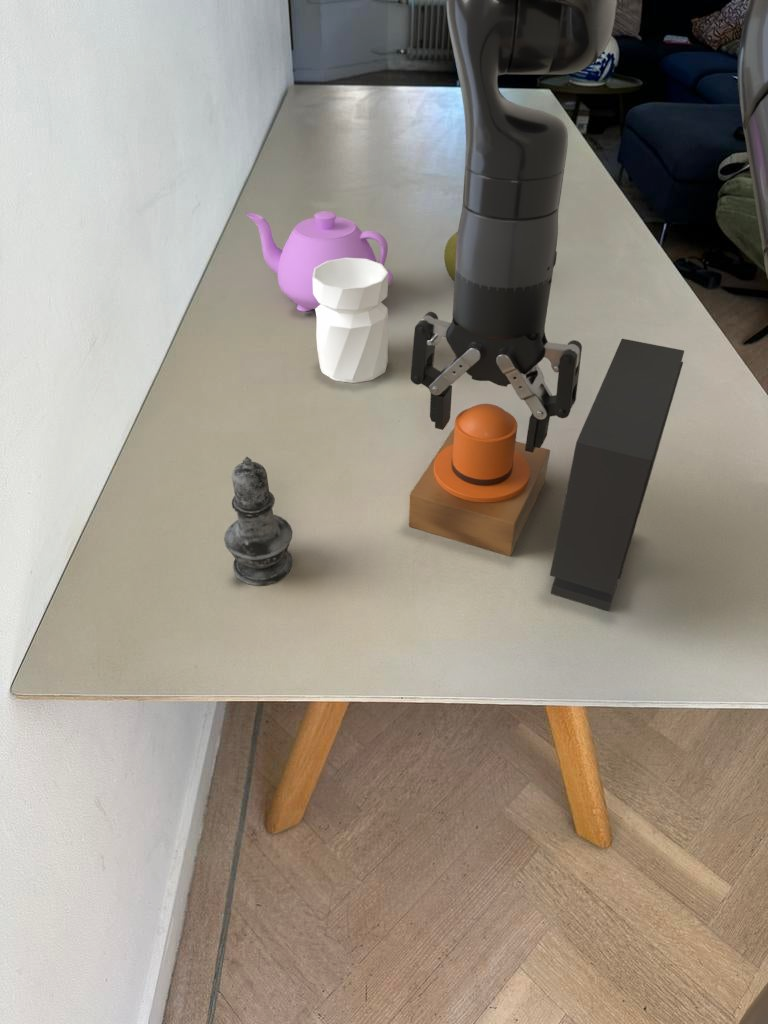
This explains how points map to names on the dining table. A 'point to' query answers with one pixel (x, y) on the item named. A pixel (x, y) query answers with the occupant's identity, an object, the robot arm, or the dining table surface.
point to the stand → (477, 507)
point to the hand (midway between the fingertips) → (486, 435)
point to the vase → (351, 319)
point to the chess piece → (257, 529)
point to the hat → (483, 457)
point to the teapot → (315, 252)
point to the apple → (451, 255)
